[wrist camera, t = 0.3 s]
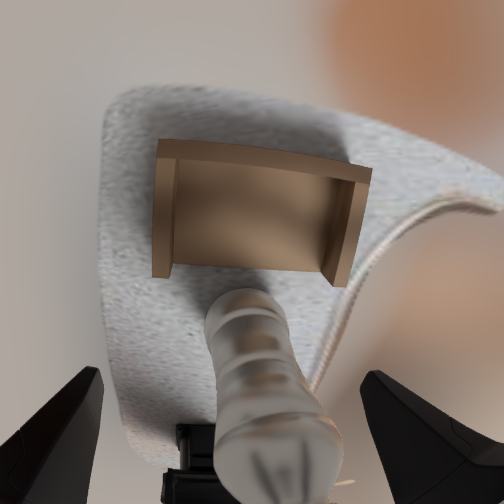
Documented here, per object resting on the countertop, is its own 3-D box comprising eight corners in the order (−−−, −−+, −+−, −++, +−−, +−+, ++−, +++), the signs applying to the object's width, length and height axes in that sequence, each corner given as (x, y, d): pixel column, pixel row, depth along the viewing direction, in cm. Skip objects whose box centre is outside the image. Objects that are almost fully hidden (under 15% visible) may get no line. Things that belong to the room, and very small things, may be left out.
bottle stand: (329, 269, 25) (346, 287, 22) (159, 258, 23) (152, 277, 19) (350, 164, 22) (372, 168, 19) (166, 139, 19) (158, 138, 16)
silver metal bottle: (195, 287, 24) (199, 552, 5) (275, 271, 24) (395, 506, 6) (212, 346, 26) (237, 564, 8) (283, 331, 27) (366, 534, 8)
